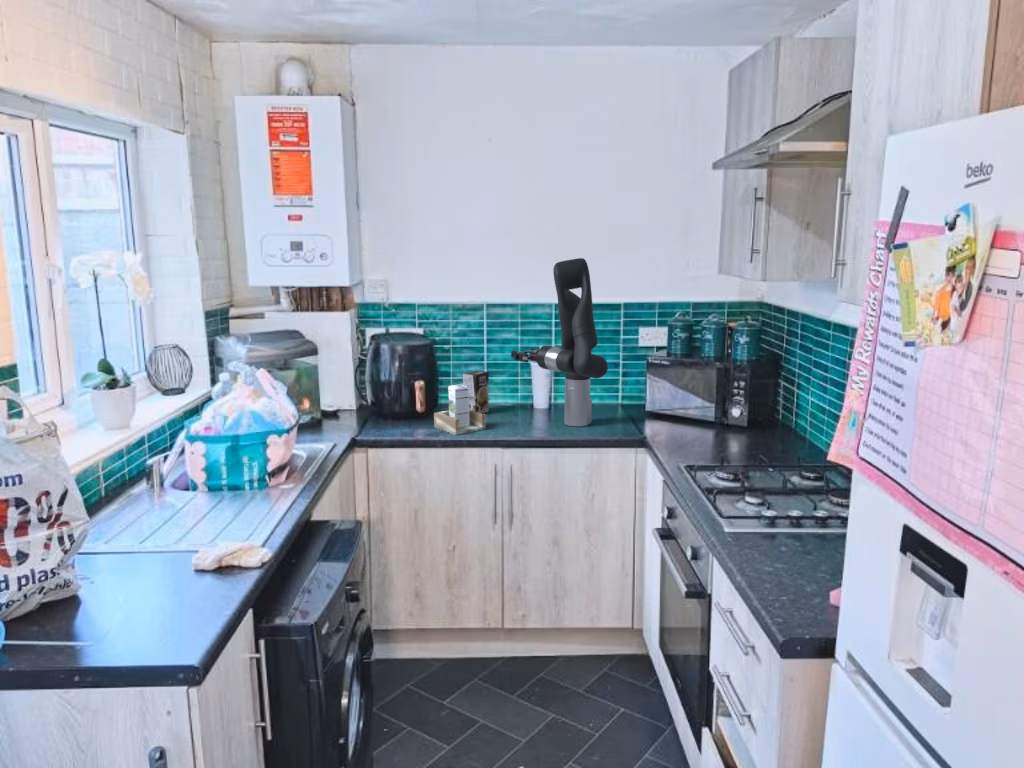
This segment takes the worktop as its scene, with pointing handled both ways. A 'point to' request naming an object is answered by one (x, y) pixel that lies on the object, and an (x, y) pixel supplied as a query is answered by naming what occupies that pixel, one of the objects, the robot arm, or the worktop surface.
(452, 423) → the cubby
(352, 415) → the worktop surface
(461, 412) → the syrup box
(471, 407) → the coffee box
